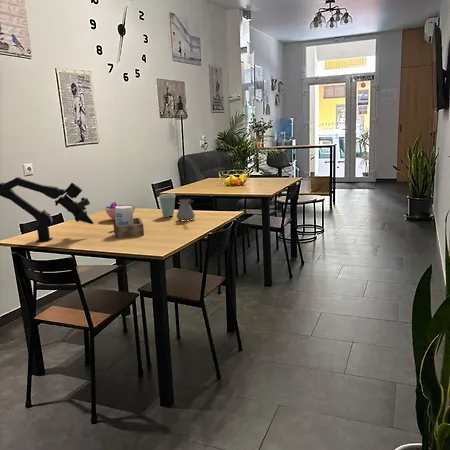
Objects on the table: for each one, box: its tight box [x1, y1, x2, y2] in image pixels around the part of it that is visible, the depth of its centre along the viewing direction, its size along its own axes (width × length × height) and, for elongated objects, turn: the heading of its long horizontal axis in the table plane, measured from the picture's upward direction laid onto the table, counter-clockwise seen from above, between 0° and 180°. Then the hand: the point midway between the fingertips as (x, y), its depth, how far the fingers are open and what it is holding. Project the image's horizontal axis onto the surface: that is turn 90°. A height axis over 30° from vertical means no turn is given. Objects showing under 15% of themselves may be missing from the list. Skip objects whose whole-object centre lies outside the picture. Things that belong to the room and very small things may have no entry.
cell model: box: [103, 201, 136, 220], centre depth 287 cm, size 17×20×11 cm
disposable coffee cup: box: [158, 192, 176, 218], centre depth 292 cm, size 11×11×15 cm
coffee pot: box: [176, 198, 196, 221], centre depth 273 cm, size 21×12×15 cm, turn 21°
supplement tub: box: [115, 205, 134, 226], centre depth 248 cm, size 10×10×15 cm
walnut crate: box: [112, 217, 145, 239], centre depth 250 cm, size 15×21×7 cm
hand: (92, 223), depth 244 cm, fingers closed
